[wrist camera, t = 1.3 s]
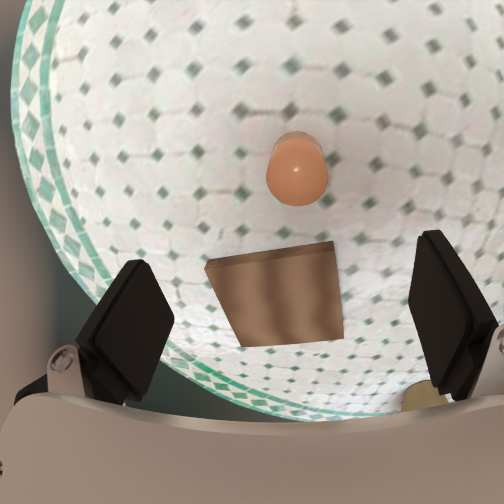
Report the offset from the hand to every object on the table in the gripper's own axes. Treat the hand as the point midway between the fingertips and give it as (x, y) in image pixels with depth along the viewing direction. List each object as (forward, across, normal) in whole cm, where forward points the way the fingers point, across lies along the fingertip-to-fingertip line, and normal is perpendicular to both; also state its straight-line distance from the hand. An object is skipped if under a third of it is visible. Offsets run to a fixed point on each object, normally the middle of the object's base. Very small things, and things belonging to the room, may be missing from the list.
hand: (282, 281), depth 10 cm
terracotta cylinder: (+22, 0, +2) cm, 22 cm away
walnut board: (+22, +4, +22) cm, 31 cm away
